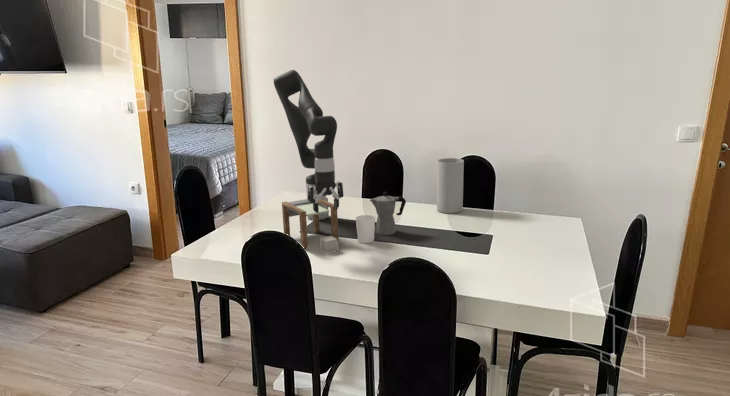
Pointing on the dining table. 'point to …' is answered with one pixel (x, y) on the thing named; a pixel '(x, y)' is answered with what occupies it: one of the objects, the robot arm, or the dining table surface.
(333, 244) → the gray cube
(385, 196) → the coffeepot
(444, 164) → the cylinder vase
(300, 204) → the trapdoor
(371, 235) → the white cup
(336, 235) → the frame
